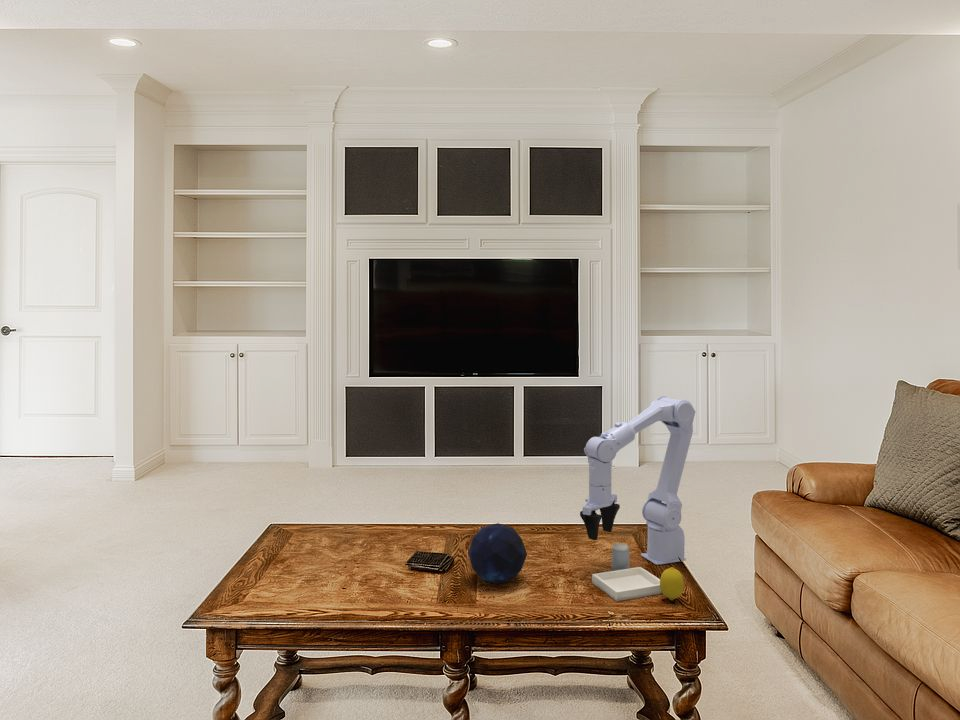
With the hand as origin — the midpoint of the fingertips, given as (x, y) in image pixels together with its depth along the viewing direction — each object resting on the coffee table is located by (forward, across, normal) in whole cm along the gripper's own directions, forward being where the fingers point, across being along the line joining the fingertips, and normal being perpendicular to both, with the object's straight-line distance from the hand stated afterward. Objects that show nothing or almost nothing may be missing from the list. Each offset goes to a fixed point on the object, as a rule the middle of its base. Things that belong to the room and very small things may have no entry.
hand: (600, 535), depth 193 cm
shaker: (+10, -3, +4) cm, 11 cm away
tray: (+10, +5, +11) cm, 15 cm away
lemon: (+10, +5, +22) cm, 25 cm away
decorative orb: (+10, +21, -18) cm, 29 cm away
